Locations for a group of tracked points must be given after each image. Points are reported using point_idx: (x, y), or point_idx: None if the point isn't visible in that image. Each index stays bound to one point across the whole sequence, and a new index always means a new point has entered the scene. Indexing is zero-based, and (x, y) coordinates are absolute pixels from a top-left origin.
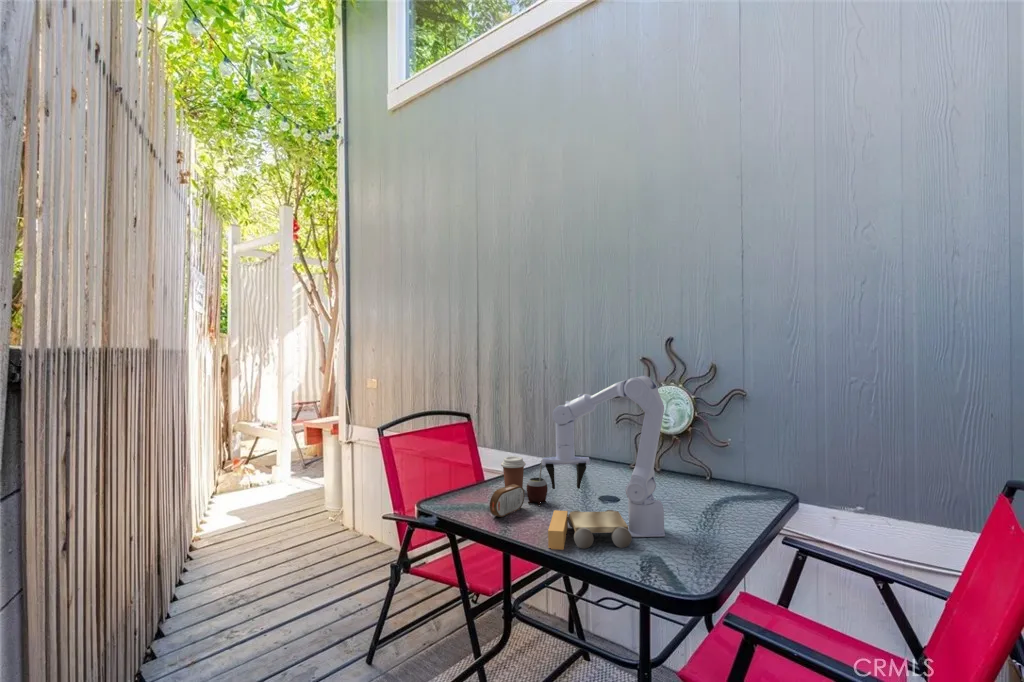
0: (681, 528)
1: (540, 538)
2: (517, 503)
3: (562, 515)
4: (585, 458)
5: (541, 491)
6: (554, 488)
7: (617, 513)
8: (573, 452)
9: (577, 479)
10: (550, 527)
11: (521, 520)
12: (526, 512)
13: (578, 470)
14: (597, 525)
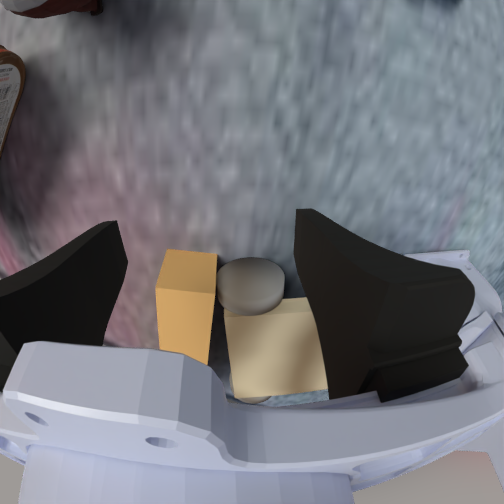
0: (495, 257)
1: (140, 325)
2: (2, 101)
3: (195, 332)
4: (449, 452)
5: (74, 1)
6: (124, 266)
7: None
8: None
9: (313, 265)
10: None
11: (49, 197)
12: (49, 108)
13: (330, 388)
14: (296, 388)
